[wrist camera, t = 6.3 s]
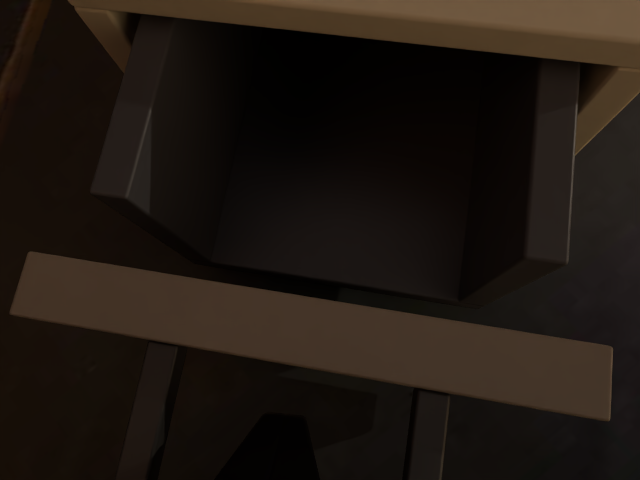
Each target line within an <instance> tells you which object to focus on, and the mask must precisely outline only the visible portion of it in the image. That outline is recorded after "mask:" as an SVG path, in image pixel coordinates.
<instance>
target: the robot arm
mask: <svg viewBox="0 0 640 480" xmlns="http://www.w3.org/2000/svg"><path fill="white" fill-rule="evenodd" d="M214 480H320V478H319V473H318V469H317V465H316V460H315V456H314V452H313V447H312V443H311V438H310V434H309V430H308V425H307V421H306V418H305V417H304V416H301V415H291V414H282V413H272V412H267V413H265V414H263V415H262V417H261V418H260V419H259V420H258V422H257V423H256V424H255V426H254V427H253V428H252V430H251V431H250V432H249V434H248V435H247V436H246V438H245V439H244V440H243V442H242V443H241V444H240V446H239V447H238V448H237V450H236V451H235V452H234V454H233V455H232V456H231V458H230V459H229V460H228V462H227V463H226V464H225V466H224V467H223V468H222V470H221V471H220V472H219V474H218V475H217V476H216V478H215V479H214Z"/></svg>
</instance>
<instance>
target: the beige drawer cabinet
mask: <svg viewBox="0 0 640 480" xmlns="http://www.w3.org/2000/svg"><path fill="white" fill-rule="evenodd" d="M68 1H69V3H70V4H71V5H73V6H74V8H75V11H76V12H77V13H78V15H79V16H80V17H81V18H82V20H83V21H84V22H85V24H86V25H87V26H88V28H89V29H90V30H91V31H92V33H93V34H94V35H95V37H96V38H97V39H98V40H99V42H100V43H101V44H102V46H103V47H104V48H105V50H106V51H107V52H108V53H109V55H110V56H111V57H112V59H113V60H114V61H115V62H116V64H117V65H118V66H119V68H120V69H121V70H122V71H123V73H124V72H125V68H126V65H127V61H128V58H129V54H130V51H131V47H132V44H133V41H134V37H135V34H136V30H137V27H138V23H139V20H140V17H141V14H148V15H157V16H166V17H175V18H184V19H193V20H202V21H211V22H221V23H230V24H239V25H248V26H257V27H266V28H275V29H284V30H293V31H302V32H311V33H320V34H329V35H339V36H348V37H357V38H366V39H375V40H384V41H393V42H402V43H411V44H420V45H429V46H438V47H448V48H457V49H466V50H475V51H484V52H493V53H502V54H511V55H520V56H529V57H538V58H547V59H556V60H566V61H575V62H580V78H579V95H578V112H577V128H576V145H575V155H576V154H577V153H578V152H579V151H580V150H581V149H582V148H583V147H584V146H585V145H586V144H587V143H588V142H589V141H590V140H591V139H592V138H593V137H594V136H595V135H596V134H597V133H598V132H600V131H601V130H602V129H603V128H604V127H605V126H606V125H607V124H608V123H609V122H610V121H611V120H612V119H613V118H614V117H615V116H616V115H617V114H618V113H619V112H620V111H621V110H622V109H623V108H624V107H625V106H626V105H627V104H628V103H629V102H630V101H631V100H632V99H633V98H634V97H635V96H636V95H637V94H638V93H639V92H640V0H68Z"/></svg>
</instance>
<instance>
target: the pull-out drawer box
mask: <svg viewBox="0 0 640 480" xmlns="http://www.w3.org/2000/svg"><path fill="white" fill-rule="evenodd" d="M579 78H580V62H575V61H566V60H556V59H547V58H538V57H529V56H520V55H511V54H502V53H493V52H484V51H475V50H466V49H457V48H448V47H438V46H429V45H420V44H411V43H402V42H393V41H384V40H375V39H366V38H357V37H348V36H339V35H329V34H320V33H311V32H302V31H293V30H284V29H275V28H266V27H257V26H248V25H239V24H230V23H221V22H211V21H202V20H193V19H184V18H175V17H166V16H157V15H148V14H141V17H140V20H139V23H138V27H137V30H136V34H135V37H134V41H133V44H132V47H131V51H130V54H129V58H128V61H127V65H126V68H125V72H124V75H123V78H122V82H121V85H120V89H119V92H118V96H117V99H116V103H115V106H114V109H113V113H112V116H111V120H110V123H109V127H108V130H107V133H106V137H105V140H104V144H103V147H102V151H101V154H100V158H99V161H98V164H97V168H96V171H95V175H94V178H93V182H92V185H91V189H90V194H92V195H93V196H95V197H96V198H98V199H99V200H101V201H102V202H104V203H105V204H107V205H108V206H110V207H111V208H113V209H114V210H116V211H117V212H119V213H120V214H122V215H123V216H125V217H126V218H127V219H129V220H130V221H132V222H133V223H135V224H136V225H138V226H139V227H141V228H142V229H144V230H145V231H147V232H148V233H150V234H151V235H153V236H154V237H156V238H157V239H159V240H160V241H162V242H163V243H165V244H166V245H168V246H169V247H171V248H172V249H174V250H175V251H177V252H178V253H180V254H181V255H183V256H184V257H185V258H187V259H189V260H190V261H192V262H193V263H195V264H200V265H206V266H212V267H218V268H225V269H231V270H237V271H243V272H249V273H256V274H262V275H268V276H274V277H281V278H287V279H293V280H299V281H306V282H312V283H318V284H324V285H330V286H337V287H343V288H349V289H355V290H362V291H368V292H374V293H380V294H387V295H393V296H399V297H405V298H411V299H418V300H424V301H430V302H436V303H443V304H449V305H455V306H461V307H468V308H474V309H479V308H481V307H483V306H485V305H487V304H489V303H491V302H493V301H495V300H497V299H499V298H501V297H503V296H505V295H507V294H509V293H511V292H513V291H515V290H517V289H519V288H521V287H523V286H525V285H527V284H529V283H531V282H533V281H535V280H537V279H539V278H541V277H543V276H545V275H547V274H549V273H551V272H553V271H555V270H557V269H559V268H561V267H563V266H565V265H567V263H568V260H569V244H570V227H571V211H572V194H573V178H574V161H575V145H576V128H577V112H578V95H579ZM9 314H10V315H12V316H17V317H22V318H28V319H33V320H39V321H45V322H50V323H56V324H61V325H67V326H73V327H78V328H84V329H90V330H95V331H101V332H106V333H112V334H118V335H123V336H129V337H135V338H140V339H146V340H150V341H149V342H148V345H147V349H146V353H145V357H144V362H143V366H142V370H141V374H140V378H139V382H138V386H137V390H136V394H135V398H134V402H133V406H132V410H131V415H130V419H129V423H128V427H127V431H126V435H125V439H124V443H123V447H122V451H121V455H120V459H119V464H118V468H117V472H116V476H115V480H157V479H158V475H159V470H160V466H161V462H162V457H163V453H164V448H165V444H166V440H167V435H168V431H169V426H170V422H171V418H172V413H173V409H174V404H175V400H176V396H177V391H178V387H179V382H180V378H181V374H182V369H183V365H184V360H185V356H186V352H187V347H191V348H196V349H202V350H208V351H213V352H219V353H224V354H230V355H236V356H241V357H247V358H253V359H258V360H264V361H269V362H275V363H281V364H286V365H292V366H297V367H303V368H309V369H314V370H320V371H326V372H331V373H337V374H342V375H348V376H354V377H359V378H365V379H371V380H376V381H382V382H387V383H393V384H399V385H404V386H410V387H416V388H415V389H414V390H413V398H412V406H411V414H410V422H409V430H408V438H407V446H406V454H405V462H404V470H403V478H402V480H442V471H443V462H444V453H445V443H446V434H447V425H448V416H449V406H450V394H455V395H460V396H466V397H472V398H477V399H483V400H489V401H494V402H500V403H505V404H511V405H517V406H522V407H528V408H534V409H539V410H545V411H550V412H556V413H562V414H567V415H573V416H578V417H584V418H590V419H595V420H601V421H610V412H611V386H612V360H613V348H612V347H611V346H607V345H601V344H595V343H589V342H582V341H576V340H570V339H564V338H558V337H552V336H546V335H540V334H534V333H527V332H521V331H515V330H509V329H503V328H497V327H491V326H485V325H478V324H472V323H466V322H460V321H454V320H448V319H442V318H436V317H430V316H423V315H417V314H411V313H405V312H399V311H393V310H387V309H381V308H374V307H368V306H362V305H356V304H350V303H344V302H338V301H332V300H326V299H319V298H313V297H307V296H301V295H295V294H289V293H283V292H277V291H270V290H264V289H258V288H252V287H246V286H240V285H234V284H228V283H222V282H215V281H209V280H203V279H197V278H191V277H185V276H179V275H173V274H166V273H160V272H154V271H148V270H142V269H136V268H130V267H124V266H118V265H111V264H105V263H99V262H93V261H87V260H81V259H75V258H69V257H62V256H56V255H50V254H44V253H38V252H32V251H31V252H28V254H27V257H26V261H25V264H24V267H23V270H22V273H21V277H20V280H19V283H18V286H17V289H16V293H15V296H14V299H13V302H12V306H11V309H10V312H9ZM448 393H449V394H448Z"/></svg>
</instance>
